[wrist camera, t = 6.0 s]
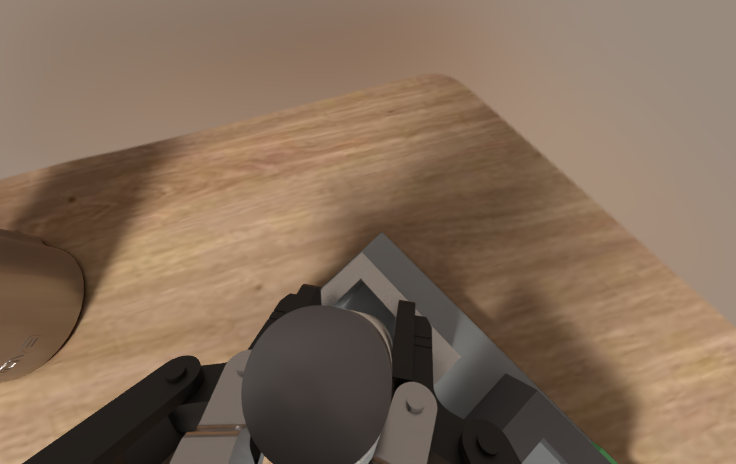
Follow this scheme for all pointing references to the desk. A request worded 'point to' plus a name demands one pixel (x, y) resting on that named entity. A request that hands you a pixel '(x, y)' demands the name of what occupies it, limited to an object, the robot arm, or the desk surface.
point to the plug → (318, 386)
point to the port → (535, 424)
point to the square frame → (368, 274)
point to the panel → (477, 351)
